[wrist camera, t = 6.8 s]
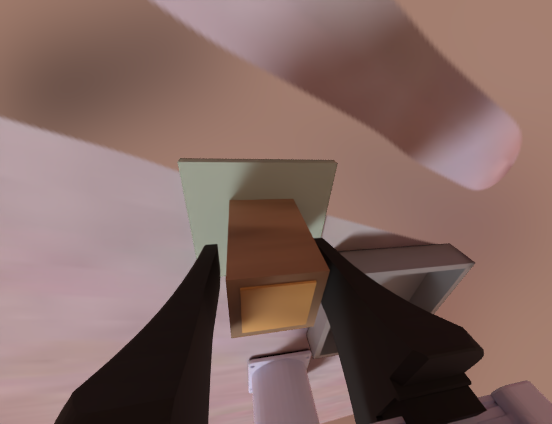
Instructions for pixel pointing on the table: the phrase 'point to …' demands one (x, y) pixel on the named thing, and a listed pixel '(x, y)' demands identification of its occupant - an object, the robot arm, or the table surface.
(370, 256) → the bin
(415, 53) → the table surface
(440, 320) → the robot arm
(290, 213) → the label block
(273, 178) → the mat
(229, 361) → the table surface
